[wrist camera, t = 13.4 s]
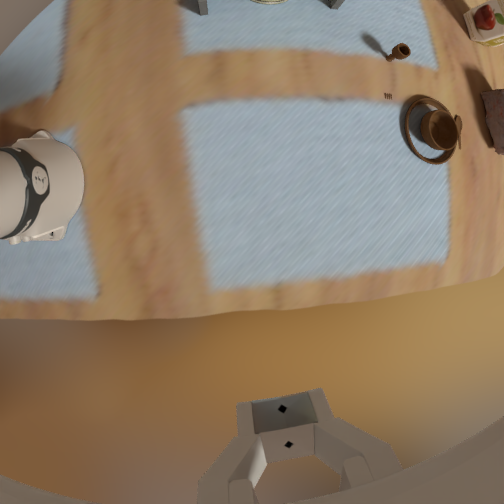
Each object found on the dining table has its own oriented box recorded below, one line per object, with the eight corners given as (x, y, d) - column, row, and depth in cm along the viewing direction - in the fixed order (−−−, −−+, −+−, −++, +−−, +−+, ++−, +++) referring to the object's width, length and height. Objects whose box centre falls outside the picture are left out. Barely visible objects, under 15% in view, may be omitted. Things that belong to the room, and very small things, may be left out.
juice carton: (480, 19, 36) (535, -1, 18) (490, 51, 39) (549, 36, 20) (459, 10, 36) (514, -16, 18) (469, 43, 38) (530, 22, 20)
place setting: (389, 163, 45) (408, 163, 39) (376, 50, 40) (392, 39, 34) (462, 165, 46) (482, 167, 40) (450, 67, 40) (469, 61, 35)
